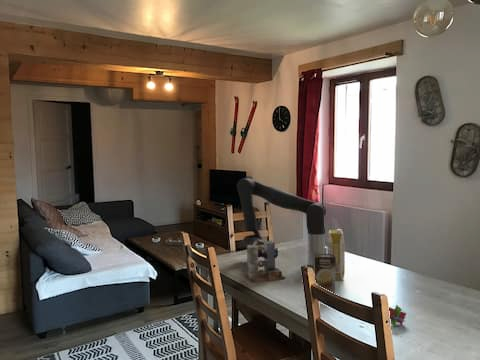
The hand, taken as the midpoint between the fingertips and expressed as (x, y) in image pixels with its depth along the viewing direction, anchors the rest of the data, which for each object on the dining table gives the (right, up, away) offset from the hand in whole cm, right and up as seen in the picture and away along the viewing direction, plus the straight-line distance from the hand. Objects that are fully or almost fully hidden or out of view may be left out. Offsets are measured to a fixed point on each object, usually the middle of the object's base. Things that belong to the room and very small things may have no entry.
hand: (271, 256), depth 196 cm
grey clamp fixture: (-2, -8, +3) cm, 9 cm away
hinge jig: (-3, -10, +2) cm, 11 cm away
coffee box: (+22, -12, -19) cm, 31 cm away
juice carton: (+31, -10, -2) cm, 33 cm away
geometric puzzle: (+40, -14, -54) cm, 68 cm away
